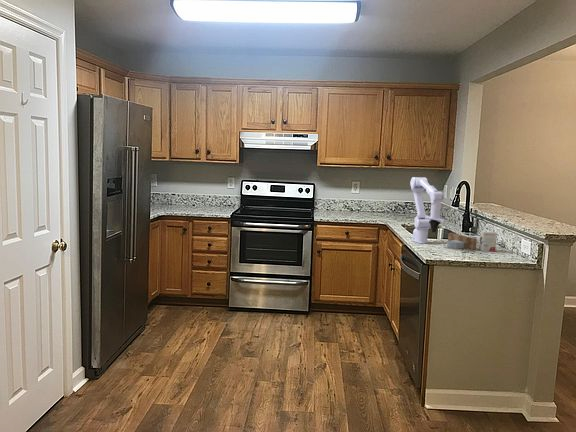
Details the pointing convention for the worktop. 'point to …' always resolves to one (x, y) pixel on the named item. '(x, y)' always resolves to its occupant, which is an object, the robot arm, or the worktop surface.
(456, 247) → the slate block
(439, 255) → the worktop surface
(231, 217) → the worktop surface
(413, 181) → the robot arm
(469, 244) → the walnut board
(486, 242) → the ink box
